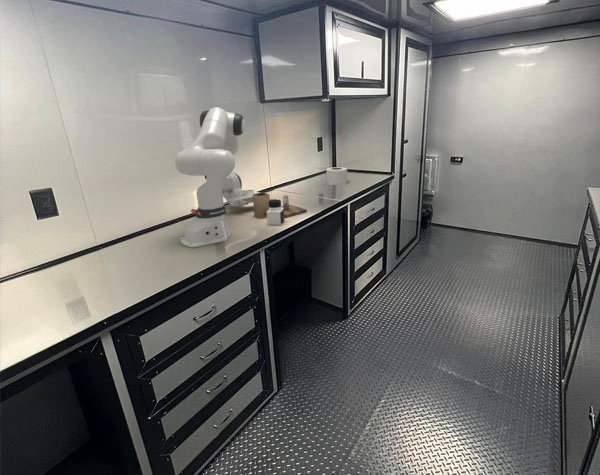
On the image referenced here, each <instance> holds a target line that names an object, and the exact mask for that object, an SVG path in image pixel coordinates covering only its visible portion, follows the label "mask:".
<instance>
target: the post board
mask: <svg viewBox="0 0 600 475" xmlns="http://www.w3.org/2000/svg"><path fill="white" fill-rule="evenodd" d="M281 208H284V219H287V218H291V217H294V216H298V215H302V214H305V213H307V212H308V209H306V208H302V207H299V206H295V205H292V204H290V201H289V195H288V194H283V196H282V205H281Z"/></svg>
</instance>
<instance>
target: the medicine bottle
mask: <svg viewBox="0 0 600 475" xmlns="http://www.w3.org/2000/svg"><path fill="white" fill-rule="evenodd" d="M281 206H282V201H281V199H279V198H273V199H272V198H270V200H269V210H268V211H267V217H266V220H267V223H266V224H267V226H282V225H283V223H284V222H285V219H286V218H284V208H281Z"/></svg>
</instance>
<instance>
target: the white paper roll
mask: <svg viewBox="0 0 600 475" xmlns="http://www.w3.org/2000/svg"><path fill="white" fill-rule="evenodd" d="M325 173H326V176H325V177H326V184H327V185H329V184H330V186H342V185H341V184H343V185H346V184H348V168H347V167H341V166H335V167H328V168H326V172H325Z"/></svg>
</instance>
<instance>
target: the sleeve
mask: <svg viewBox="0 0 600 475" xmlns="http://www.w3.org/2000/svg"><path fill="white" fill-rule="evenodd" d="M269 200H271V196H270V193H266V192H260V193H257V194H253V215H254V217H256V218H258V219H262V220H263V219H265V218H266V219H267V211H268V210H269Z"/></svg>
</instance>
